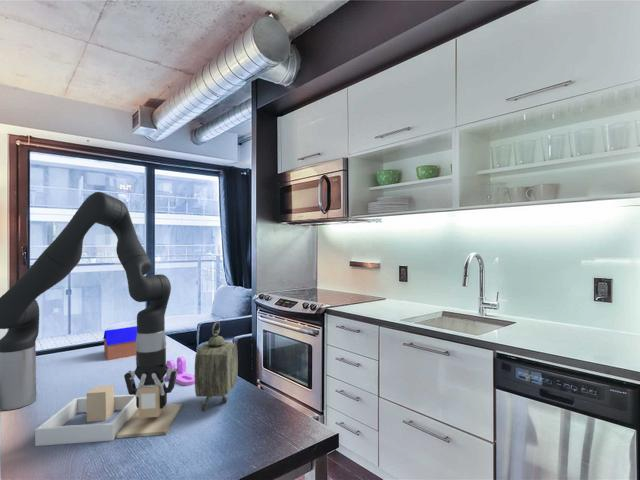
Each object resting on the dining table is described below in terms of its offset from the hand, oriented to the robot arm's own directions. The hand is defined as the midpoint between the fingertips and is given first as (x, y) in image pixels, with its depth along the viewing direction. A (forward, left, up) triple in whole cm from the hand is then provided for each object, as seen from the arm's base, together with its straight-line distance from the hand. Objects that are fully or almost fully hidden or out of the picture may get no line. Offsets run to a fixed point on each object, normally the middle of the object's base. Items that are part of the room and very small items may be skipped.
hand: (151, 407), depth 101 cm
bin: (-15, 0, -4) cm, 16 cm away
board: (0, 0, -4) cm, 4 cm away
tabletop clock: (+17, +9, -4) cm, 19 cm away
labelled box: (0, 0, -1) cm, 1 cm away
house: (-31, +66, -4) cm, 73 cm away
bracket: (+1, +29, -4) cm, 29 cm away
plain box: (-15, +4, -4) cm, 16 cm away
